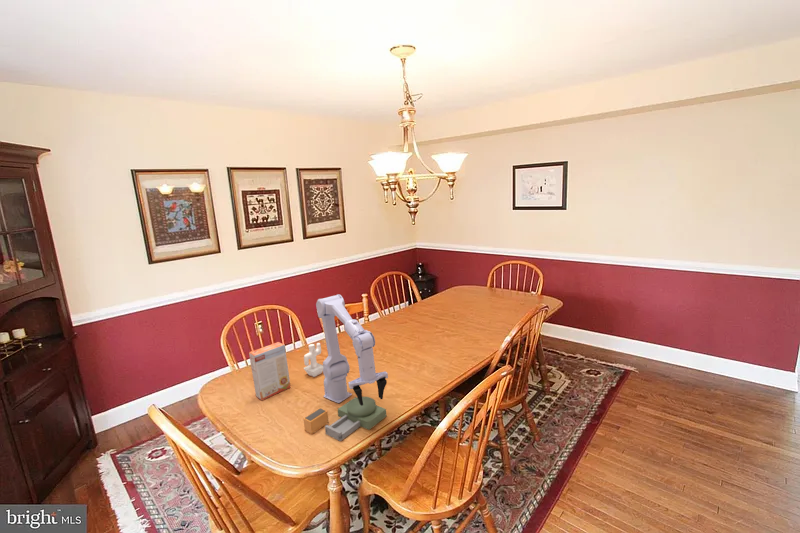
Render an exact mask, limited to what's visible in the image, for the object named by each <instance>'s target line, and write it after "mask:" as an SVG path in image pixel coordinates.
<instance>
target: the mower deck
mask: <svg viewBox="0 0 800 533" xmlns="http://www.w3.org/2000/svg"><path fill="white" fill-rule="evenodd" d="M362 400H363V406H361V405H360V404H359V400H358V398H357V396H355V397H354V398H352V399H350V400H349V401H348V402H346V403H345V404H343V405H342V406H340V407H338V408H337V416H338V417H340V418H339V419H337V420H336V421H334V422H333V423H332V424H330V425H328V424H326V425H325V426H324V431H325V435H327V436H329V437H330V438H333V439H334V440H337V441H338V442H342V441H343V440H344V439H346V438H347V437H348V436H350V435H351V434H352V433H354V432H355V431H356V430H358V429H359V428H360V427H361V428H363V429H366V430H368V431H370V430H371V429H373V427H375V426H376V425H377V424H379V423H380V422H381V421H382V420H383V419H385V418H386V417H387V408H384V407H382V406H379V405H377V403H376V400H375V399H374V398H372V397H370V396H362Z"/></svg>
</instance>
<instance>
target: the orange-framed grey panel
mask: <svg viewBox="0 0 800 533" xmlns="http://www.w3.org/2000/svg"><path fill="white" fill-rule="evenodd" d="M328 424H329V414H328V410H326V409H324V408H322V407H319V408H317V409H316V410H314V411H313V412H311V413H310V414H308V415H306V416H305V417H304V418H303V425H304V426H303V427H304V431H305V432H307V433H309V434H311V435H313V434H315V433H316V432H317V431H319V430H320V429H322V428H323V427H325V426H326V425H328Z"/></svg>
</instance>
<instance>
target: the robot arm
mask: <svg viewBox="0 0 800 533" xmlns="http://www.w3.org/2000/svg"><path fill="white" fill-rule="evenodd" d="M315 306H316V312H317V317H318V318H319V319H321V321H322V328H323V332H324V339H325V344H326V349H327V354H328V356H327V357H326V358H325V359H324V360H323V362H322V365H323V371H322V373H323V376H324V379H323V387H324V388H323V389H324V395H323V398H325V399H328V400H330V401H332V402H335V403H337V404H340V403H342V402H343V401H344V400H346V399H348V398H349V397H351V396H352V395H353V393H351V392H349V391H348V388H349V389H350V390H353V392H354V394H355V395H356V397H357V398H358V400H359V404H360V405H361V406H363V400H362V397H363V390H362V388H361V386H363V385H366V384H369V385H371V384H374V383H375V382H376V386H377V392H378V398H379V399H380V400H383V398H384V392H385V391H384V390H385V388H386V385H387V383H388V380H387V379H389V373H388V372H387V371H385V370H384V371H381V372H376V365H375V357H374V349H373V348H374V347H375V346H376V339H375V335H374V334H373V332H371V331H369V330H368V329H364V327H363V326H362V324H360V322H359V321H358V319H356V318H355V319H353V318H352V316H351V315H350V313H349V312H348V310H347V309H346V303H345V300H344V297H343V296H342V295H341V294H338V293H337V294H336V295H335V294H334V295H331V296H327V297H324V298H318V299H317V300H316V303H315ZM335 317H337V319H338V320H339V321H340V322H341V323H342V324H343V325H344V326H343V327H344V331H345V333H347V335H348V336H349V338H350V339H351V340H352V347H353V349H354V351H355V352H354V353H355V355H356V356H357V361H358V362H357V364H358V370H359V372H358V373H359V377H357V378H355V379H353V380H351V381H348V382H347V377H348V374H349V373H350V371H351V370H350V368H351V367H350V363H349V361H348V358H347V356H346V355H344V354H342V353H341V349H340V343H339V338H338V332H337V327H336V321H335ZM347 383H348V385H347Z"/></svg>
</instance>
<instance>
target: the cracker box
mask: <svg viewBox="0 0 800 533" xmlns="http://www.w3.org/2000/svg"><path fill="white" fill-rule="evenodd" d="M248 352H249V353H248V355H249V361H250V367H251V374H252V379H253V384H254V385H253V386H254V392H255V396H256V397H257V398H258V399H259V400H260V401H265V400H267V399H268V398H271V397H273V396H275V395H277V394H279V393H282V392H284V391H285V390H288V389H291V381H290V373H289V366H288V360H287V358H288V357H287V354H286V346H285V344H284V343H281V342H280V341H277V342H274V343H272V344H269V345H265V346H262V347H260V348H257V349H254V350H252V351H248Z"/></svg>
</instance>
